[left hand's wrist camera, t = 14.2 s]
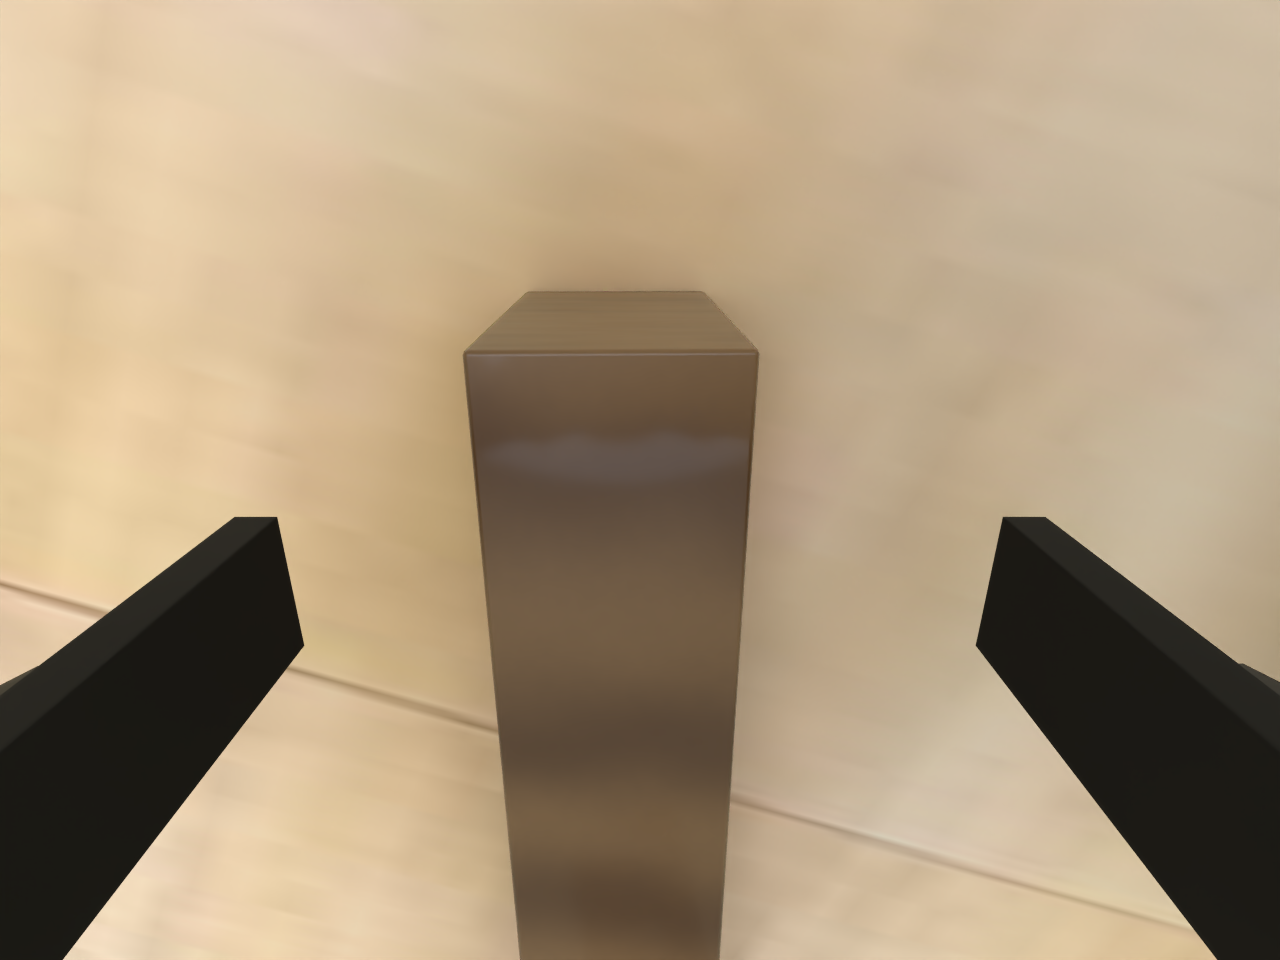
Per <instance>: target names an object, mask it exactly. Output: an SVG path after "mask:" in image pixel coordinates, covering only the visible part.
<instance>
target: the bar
mask: <svg viewBox="0 0 1280 960" xmlns="http://www.w3.org/2000/svg"><path fill="white" fill-rule="evenodd" d="M463 363H464V373H465V384H466V395H467V405H468V416H469V426H470V437H471V447H472V458H473V468H474V479H475V489H476V500H477V511H478V521H479V532H480V542H481V553H482V563H483V574H484V584H485V595H486V605H487V616H488V627H489V637H490V648H491V658H492V669H493V679H494V690H495V700H496V711H497V721H498V732H499V743H500V753H501V764H502V774H503V785H504V795H505V806H506V816H507V827H508V837H509V848H510V859H511V869H512V880H513V890H514V901H515V911H516V922H517V932H518V943H519V953H520V960H719V957H720V942H721V927H722V912H723V897H724V881H725V866H726V851H727V836H728V821H729V805H730V790H731V775H732V760H733V744H734V729H735V714H736V699H737V684H738V668H739V653H740V638H741V623H742V608H743V592H744V577H745V562H746V547H747V532H748V516H749V501H750V486H751V471H752V455H753V440H754V425H755V410H756V395H757V379H758V364H759V352H758V350H757V349H756V348H755V347H754V346H753V345H752V343H751V342H750V341H749V340H748V339H747V338H746V337H745V336H744V335H743V334H742V333H741V332H740V331H739V330H738V328H737V327H736V326H735V325H734V324H733V323H732V322H731V321H730V320H729V319H728V318H727V317H726V316H725V314H724V313H723V312H722V311H721V310H720V309H719V308H718V307H717V306H716V305H715V304H714V303H713V302H712V301H711V299H710V298H709V297H708V296H707V295H706V294H705V293H704V292H527V293H525V294H524V295H523V296H522V297H521V298H520V299H519V300H518V301H517V302H516V303H515V304H514V305H513V306H512V307H511V308H510V309H508V310H507V311H506V312H505V313H504V314H503V315H502V316H501V317H500V318H499V319H498V320H497V321H496V322H495V323H494V324H493V325H491V326H490V327H489V328H488V329H487V330H486V331H485V332H484V333H483V334H482V335H481V336H480V337H479V338H478V339H477V340H476V341H475V342H473V343H472V344H471V345H470V346H469V347H468V348H467V349H466V350H465V351H464V353H463Z"/></svg>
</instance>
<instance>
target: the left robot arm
mask: <svg viewBox="0 0 1280 960" xmlns="http://www.w3.org/2000/svg"><path fill="white" fill-rule="evenodd" d="M303 646H304V642H303V638H302V633H301V628H300V623H299V619H298V614H297V609H296V604H295V600H294V595H293V590H292V586H291V581H290V576H289V571H288V567H287V562H286V557H285V552H284V548H283V543H282V538H281V534H280V529H279V524H278V519H277V517H234V518H233V519H231V520H230V521H229V522H227V523H226V524H225V525H223V526H222V527H221V528H220V529H218V530H217V531H216V532H214V533H213V534H212V535H210V536H209V537H208V538H206V539H205V540H204V541H202V542H201V543H200V544H199V545H197V546H196V547H195V548H193V549H192V550H191V551H189V552H188V553H187V554H185V555H184V556H183V557H181V558H180V559H179V560H177V561H176V562H175V563H174V564H172V565H171V566H170V567H168V568H167V569H166V570H164V571H163V572H162V573H160V574H159V575H158V576H156V577H155V578H154V579H153V580H151V581H150V582H149V583H147V584H146V585H145V586H143V587H142V588H141V589H139V590H138V591H137V592H135V593H134V594H133V595H131V596H130V597H129V598H128V599H126V600H125V601H124V602H122V603H121V604H120V605H118V606H117V607H116V608H114V609H113V610H112V611H110V612H109V613H108V614H106V615H105V616H104V617H103V618H101V619H100V620H99V621H97V622H96V623H95V624H93V625H92V626H91V627H89V628H88V629H87V630H85V631H84V632H83V633H82V634H80V635H79V636H78V637H76V638H75V639H74V640H72V641H71V642H70V643H68V644H67V645H66V646H64V647H63V648H62V649H60V650H59V651H58V652H57V653H55V654H54V655H53V656H51V657H50V658H49V659H47V660H46V661H45V662H43V663H42V664H41V665H39V666H37V667H35V668H33V669H31V670H29V671H27V672H25V673H23V674H21V675H19V676H17V677H15V678H14V679H12V680H10V681H8V682H6V683H4V684H2V685H0V960H63V959H64V957H65V956H66V955H67V953H68V952H69V951H70V950H71V948H72V947H73V946H74V944H75V943H76V942H77V940H78V939H79V938H80V937H81V935H82V934H83V933H84V931H85V930H86V929H87V927H88V926H89V925H90V924H91V922H92V921H93V920H94V918H95V917H96V916H97V914H98V913H99V912H100V911H101V909H102V908H103V907H104V905H105V904H106V903H107V901H108V900H109V899H110V898H111V896H112V895H113V894H114V892H115V891H116V890H117V888H118V887H119V886H120V885H121V883H122V882H123V881H124V879H125V878H126V877H127V875H128V874H129V873H130V872H131V870H132V869H133V868H134V866H135V865H136V864H137V862H138V861H139V860H140V858H141V857H142V856H143V855H144V853H145V852H146V851H147V849H148V848H149V847H150V845H151V844H152V843H153V842H154V840H155V839H156V838H157V836H158V835H159V834H160V832H161V831H162V830H163V829H164V827H165V826H166V825H167V823H168V822H169V821H170V819H171V818H172V817H173V816H174V814H175V813H176V812H177V810H178V809H179V808H180V806H181V805H182V804H183V803H184V801H185V800H186V799H187V797H188V796H189V795H190V793H191V792H192V791H193V790H194V788H195V787H196V786H197V784H198V783H199V782H200V780H201V779H202V778H203V777H204V775H205V774H206V773H207V771H208V770H209V769H210V767H211V766H212V765H213V764H214V762H215V761H216V760H217V758H218V757H219V756H220V754H221V753H222V752H223V751H224V749H225V748H226V747H227V745H228V744H229V743H230V741H231V740H232V739H233V738H234V736H235V735H236V734H237V732H238V731H239V730H240V728H241V727H242V726H243V724H244V723H245V722H246V721H247V719H248V718H249V717H250V715H251V714H252V713H253V711H254V710H255V709H256V708H257V706H258V705H259V704H260V702H261V701H262V700H263V698H264V697H265V696H266V695H267V693H268V692H269V691H270V689H271V688H272V687H273V685H274V684H275V683H276V682H277V680H278V679H279V678H280V676H281V675H282V674H283V672H284V671H285V670H286V669H287V667H288V666H289V665H290V663H291V662H292V661H293V659H294V658H295V657H296V656H297V654H298V653H299V652H300V650H301V649H302V648H303ZM976 646H977V648H978V649H979V650H980V652H981V653H982V654H983V656H984V657H985V658H986V659H987V661H988V662H989V663H990V665H991V666H992V667H993V669H994V670H995V671H996V672H997V674H998V675H999V676H1000V678H1001V679H1002V680H1003V682H1004V683H1005V684H1006V685H1007V687H1008V688H1009V689H1010V691H1011V692H1012V693H1013V695H1014V696H1015V697H1016V698H1017V700H1018V701H1019V702H1020V704H1021V705H1022V706H1023V708H1024V709H1025V710H1026V711H1027V713H1028V714H1029V715H1030V717H1031V718H1032V719H1033V721H1034V722H1035V723H1036V724H1037V726H1038V727H1039V728H1040V730H1041V731H1042V732H1043V734H1044V735H1045V736H1046V738H1047V739H1048V740H1049V741H1050V743H1051V744H1052V745H1053V747H1054V748H1055V749H1056V751H1057V752H1058V753H1059V754H1060V756H1061V757H1062V758H1063V760H1064V761H1065V762H1066V764H1067V765H1068V766H1069V767H1070V769H1071V770H1072V771H1073V773H1074V774H1075V775H1076V777H1077V778H1078V779H1079V780H1080V782H1081V783H1082V784H1083V786H1084V787H1085V788H1086V790H1087V791H1088V792H1089V793H1090V795H1091V796H1092V797H1093V799H1094V800H1095V801H1096V803H1097V804H1098V805H1099V806H1100V808H1101V809H1102V810H1103V812H1104V813H1105V814H1106V816H1107V817H1108V818H1109V819H1110V821H1111V822H1112V823H1113V825H1114V826H1115V827H1116V829H1117V830H1118V831H1119V832H1120V834H1121V835H1122V836H1123V838H1124V839H1125V840H1126V842H1127V843H1128V844H1129V845H1130V847H1131V848H1132V849H1133V851H1134V852H1135V853H1136V855H1137V856H1138V857H1139V858H1140V860H1141V861H1142V862H1143V864H1144V865H1145V866H1146V868H1147V869H1148V870H1149V872H1150V873H1151V874H1152V875H1153V877H1154V878H1155V879H1156V881H1157V882H1158V883H1159V885H1160V886H1161V887H1162V888H1163V890H1164V891H1165V892H1166V894H1167V895H1168V896H1169V898H1170V899H1171V900H1172V901H1173V903H1174V904H1175V905H1176V907H1177V908H1178V909H1179V911H1180V912H1181V913H1182V914H1183V916H1184V917H1185V918H1186V920H1187V921H1188V922H1189V924H1190V925H1191V926H1192V927H1193V929H1194V930H1195V931H1196V933H1197V934H1198V935H1199V937H1200V938H1201V939H1202V940H1203V942H1204V943H1205V944H1206V946H1207V947H1208V948H1209V950H1210V951H1211V952H1212V953H1213V955H1214V956H1215V957H1216V959H1217V960H1280V682H1278V681H1276V680H1274V679H1272V678H1270V677H1269V676H1267V675H1265V674H1263V673H1261V672H1259V671H1257V670H1255V669H1253V668H1251V667H1249V666H1247V665H1245V664H1238V663H1237V662H1235V661H1234V660H1233V659H1231V658H1230V657H1229V656H1227V655H1226V654H1225V653H1223V652H1222V651H1221V650H1220V649H1218V648H1217V647H1216V646H1214V645H1213V644H1212V643H1210V642H1209V641H1208V640H1206V639H1205V638H1204V637H1202V636H1201V635H1200V634H1198V633H1197V632H1196V631H1195V630H1193V629H1192V628H1191V627H1189V626H1188V625H1187V624H1185V623H1184V622H1183V621H1181V620H1180V619H1179V618H1177V617H1176V616H1175V615H1174V614H1172V613H1171V612H1170V611H1168V610H1167V609H1166V608H1164V607H1163V606H1162V605H1160V604H1159V603H1158V602H1156V601H1155V600H1154V599H1152V598H1151V597H1150V596H1149V595H1147V594H1146V593H1145V592H1143V591H1142V590H1141V589H1139V588H1138V587H1137V586H1135V585H1134V584H1133V583H1131V582H1130V581H1129V580H1127V579H1126V578H1125V577H1124V576H1122V575H1121V574H1120V573H1118V572H1117V571H1116V570H1114V569H1113V568H1112V567H1110V566H1109V565H1108V564H1106V563H1105V562H1104V561H1103V560H1101V559H1100V558H1099V557H1097V556H1096V555H1095V554H1093V553H1092V552H1091V551H1089V550H1088V549H1087V548H1085V547H1084V546H1083V545H1081V544H1080V543H1079V542H1078V541H1076V540H1075V539H1074V538H1072V537H1071V536H1070V535H1068V534H1067V533H1066V532H1064V531H1063V530H1062V529H1060V528H1059V527H1058V526H1057V525H1055V524H1054V523H1053V522H1051V521H1050V520H1049V519H1047V518H1046V517H1003V519H1002V524H1001V529H1000V534H999V538H998V543H997V548H996V552H995V557H994V562H993V567H992V571H991V576H990V581H989V586H988V590H987V595H986V600H985V604H984V609H983V614H982V619H981V623H980V628H979V633H978V638H977V642H976Z"/></svg>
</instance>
